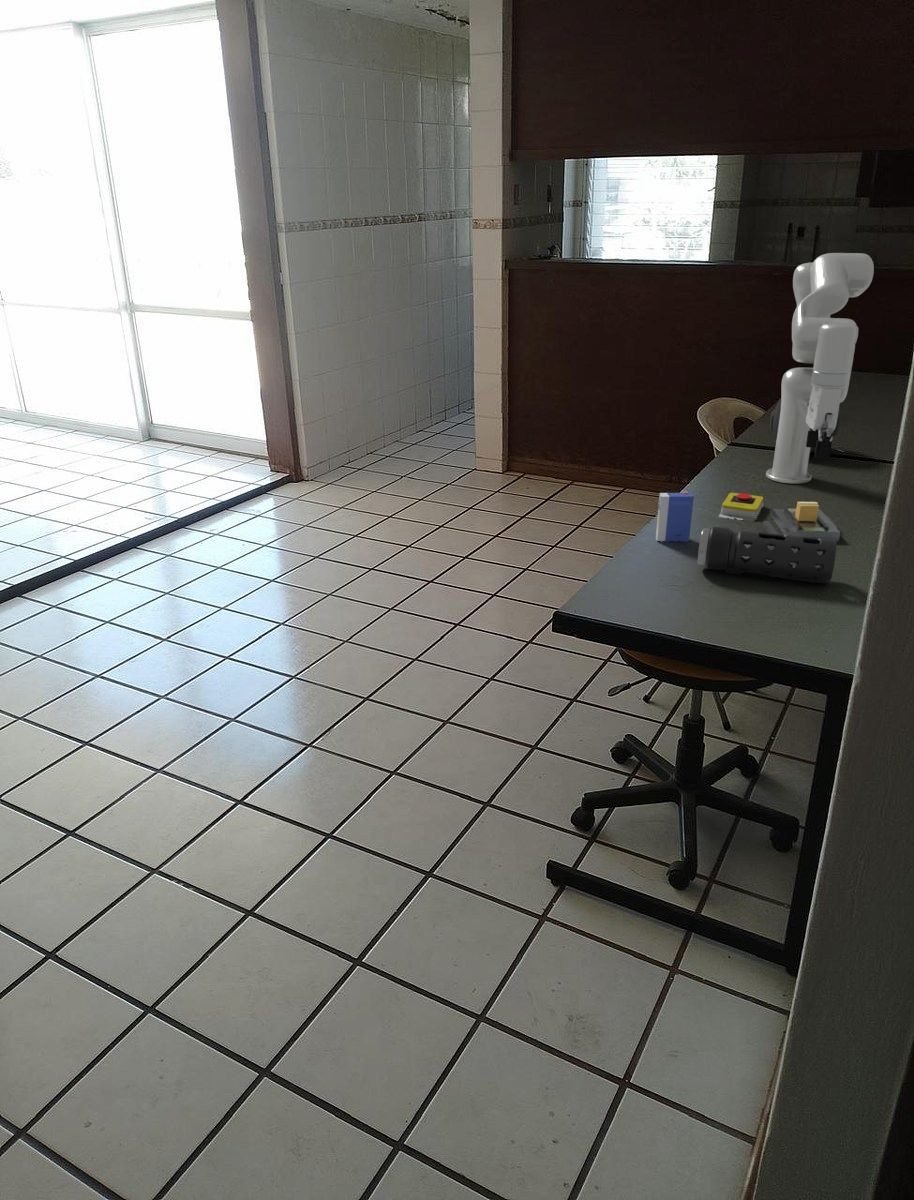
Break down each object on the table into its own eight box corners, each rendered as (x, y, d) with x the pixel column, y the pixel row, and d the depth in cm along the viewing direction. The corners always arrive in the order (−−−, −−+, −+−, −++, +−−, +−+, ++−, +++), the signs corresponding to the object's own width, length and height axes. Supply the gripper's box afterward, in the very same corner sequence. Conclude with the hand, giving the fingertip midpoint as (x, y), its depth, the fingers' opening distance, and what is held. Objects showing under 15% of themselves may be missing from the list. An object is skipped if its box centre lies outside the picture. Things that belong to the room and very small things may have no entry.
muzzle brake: (829, 593, 193) (837, 548, 188) (695, 577, 201) (700, 533, 197) (828, 576, 201) (835, 532, 197) (699, 561, 209) (704, 519, 205)
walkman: (686, 537, 222) (691, 491, 217) (688, 541, 220) (693, 495, 214) (654, 537, 222) (658, 491, 217) (656, 542, 220) (660, 495, 215)
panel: (771, 517, 234) (773, 506, 232) (818, 518, 233) (820, 507, 232) (788, 541, 219) (790, 529, 218) (838, 541, 219) (840, 529, 217)
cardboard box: (794, 516, 226) (797, 500, 225) (812, 516, 226) (815, 500, 224) (798, 520, 224) (801, 504, 222) (816, 521, 223) (819, 504, 222)
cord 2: (822, 521, 231) (822, 516, 231) (827, 521, 231) (828, 516, 231) (832, 532, 224) (832, 527, 223) (837, 532, 224) (838, 527, 223)
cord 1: (762, 526, 228) (763, 520, 228) (768, 526, 228) (769, 521, 228) (777, 547, 216) (778, 541, 215) (783, 547, 216) (784, 541, 215)
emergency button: (766, 490, 241) (756, 508, 229) (763, 506, 243) (754, 524, 231) (730, 486, 245) (719, 503, 233) (728, 501, 247) (717, 519, 235)
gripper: (804, 372, 214) (793, 442, 221) (820, 386, 199) (808, 461, 206) (837, 372, 213) (825, 443, 220) (855, 387, 198) (842, 462, 205)
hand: (817, 452), depth 213 cm, fingers open, 9 cm apart
